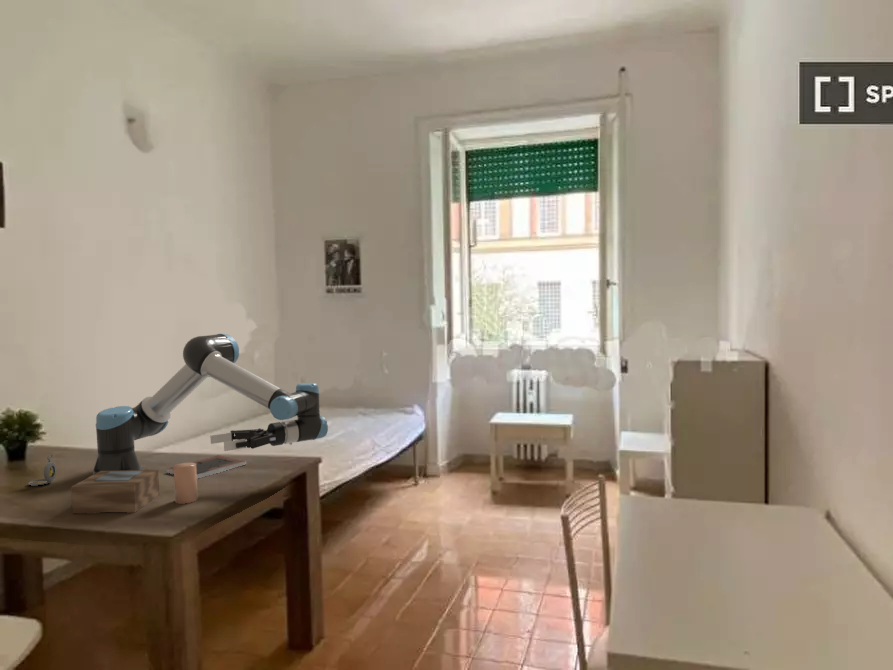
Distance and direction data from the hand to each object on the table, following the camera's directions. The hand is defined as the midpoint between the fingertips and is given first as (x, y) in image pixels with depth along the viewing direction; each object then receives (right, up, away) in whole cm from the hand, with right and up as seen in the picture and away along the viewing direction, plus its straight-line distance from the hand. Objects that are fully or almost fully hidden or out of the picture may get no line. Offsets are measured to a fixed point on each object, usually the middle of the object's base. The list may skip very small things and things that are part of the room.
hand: (217, 442), depth 205 cm
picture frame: (-15, -16, +32) cm, 39 cm away
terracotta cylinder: (-8, -17, -5) cm, 19 cm away
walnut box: (-28, -17, -7) cm, 33 cm away
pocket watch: (-64, -17, +16) cm, 68 cm away
